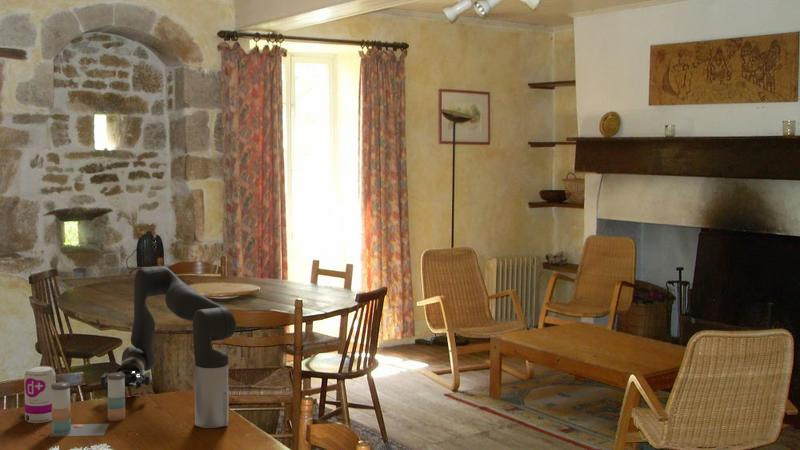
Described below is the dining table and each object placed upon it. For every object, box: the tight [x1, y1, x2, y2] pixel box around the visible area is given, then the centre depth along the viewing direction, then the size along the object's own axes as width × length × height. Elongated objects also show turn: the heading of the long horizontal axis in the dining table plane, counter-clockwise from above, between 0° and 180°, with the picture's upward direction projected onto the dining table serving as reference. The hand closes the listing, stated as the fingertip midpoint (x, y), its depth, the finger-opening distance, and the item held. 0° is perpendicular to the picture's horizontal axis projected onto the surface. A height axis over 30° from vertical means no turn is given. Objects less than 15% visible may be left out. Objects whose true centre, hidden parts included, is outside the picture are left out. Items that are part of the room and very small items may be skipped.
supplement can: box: [23, 365, 56, 424], centre depth 259 cm, size 8×8×15 cm
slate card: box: [48, 423, 110, 438], centre depth 251 cm, size 14×10×1 cm
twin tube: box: [51, 381, 72, 435], centre depth 247 cm, size 5×5×13 cm
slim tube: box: [107, 372, 126, 422], centre depth 261 cm, size 5×5×13 cm
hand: (122, 385), depth 272 cm, fingers open, 8 cm apart
